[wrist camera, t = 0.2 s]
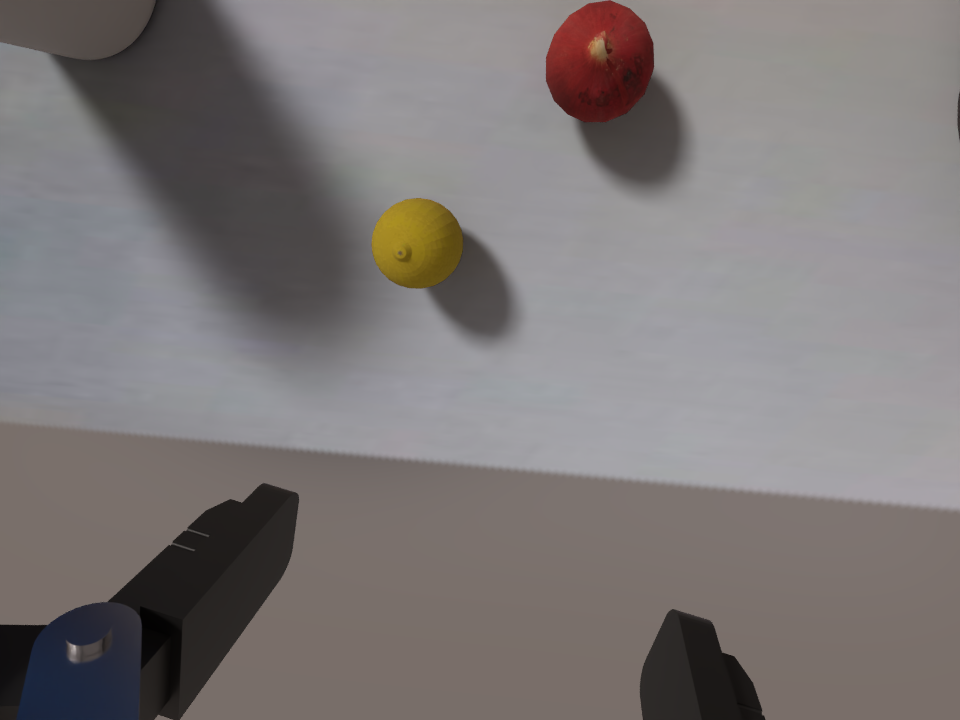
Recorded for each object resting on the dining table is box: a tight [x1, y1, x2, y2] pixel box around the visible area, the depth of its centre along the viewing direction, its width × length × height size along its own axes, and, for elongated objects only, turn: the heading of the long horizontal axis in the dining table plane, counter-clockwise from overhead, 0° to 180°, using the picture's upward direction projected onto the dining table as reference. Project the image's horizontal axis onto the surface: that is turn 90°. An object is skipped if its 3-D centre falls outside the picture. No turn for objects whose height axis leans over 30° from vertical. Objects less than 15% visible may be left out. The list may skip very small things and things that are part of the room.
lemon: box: [372, 198, 463, 289], centre depth 35 cm, size 6×6×8 cm
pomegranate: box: [546, 0, 654, 122], centre depth 30 cm, size 6×6×8 cm
